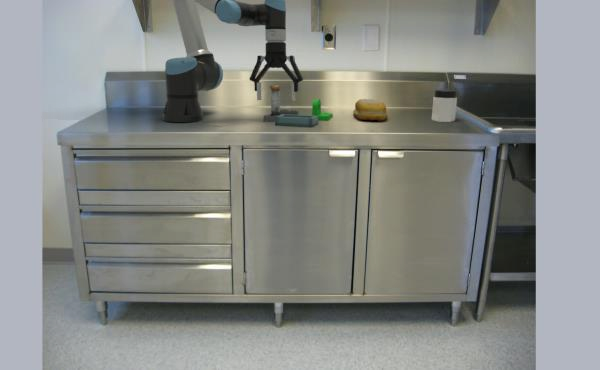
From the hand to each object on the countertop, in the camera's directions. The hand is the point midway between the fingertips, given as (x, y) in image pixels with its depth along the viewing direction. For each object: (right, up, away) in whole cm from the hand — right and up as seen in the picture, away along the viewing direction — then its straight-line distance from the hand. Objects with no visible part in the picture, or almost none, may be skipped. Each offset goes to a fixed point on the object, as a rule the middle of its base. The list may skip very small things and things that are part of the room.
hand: (276, 100), depth 188 cm
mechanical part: (+18, -6, +10) cm, 21 cm away
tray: (+8, -10, -9) cm, 16 cm away
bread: (+37, -5, +14) cm, 40 cm away
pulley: (+4, -4, +13) cm, 14 cm away
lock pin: (0, -7, +2) cm, 8 cm away
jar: (+65, -7, +7) cm, 66 cm away
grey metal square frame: (0, -7, +2) cm, 8 cm away
